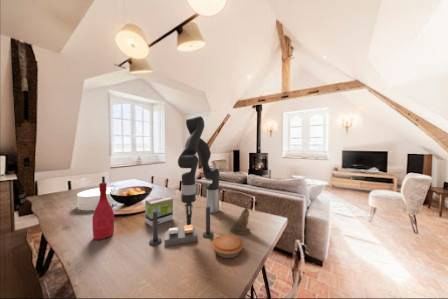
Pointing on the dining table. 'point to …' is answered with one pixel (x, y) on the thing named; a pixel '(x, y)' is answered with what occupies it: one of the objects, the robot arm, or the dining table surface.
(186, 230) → the orange slab
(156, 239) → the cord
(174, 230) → the white slab
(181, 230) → the large grey rectangular block
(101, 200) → the wine bottle
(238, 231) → the worn brown figurine
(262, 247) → the dining table surface
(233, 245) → the pie
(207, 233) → the dark grey peg stand
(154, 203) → the tea box
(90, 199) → the plate stack
